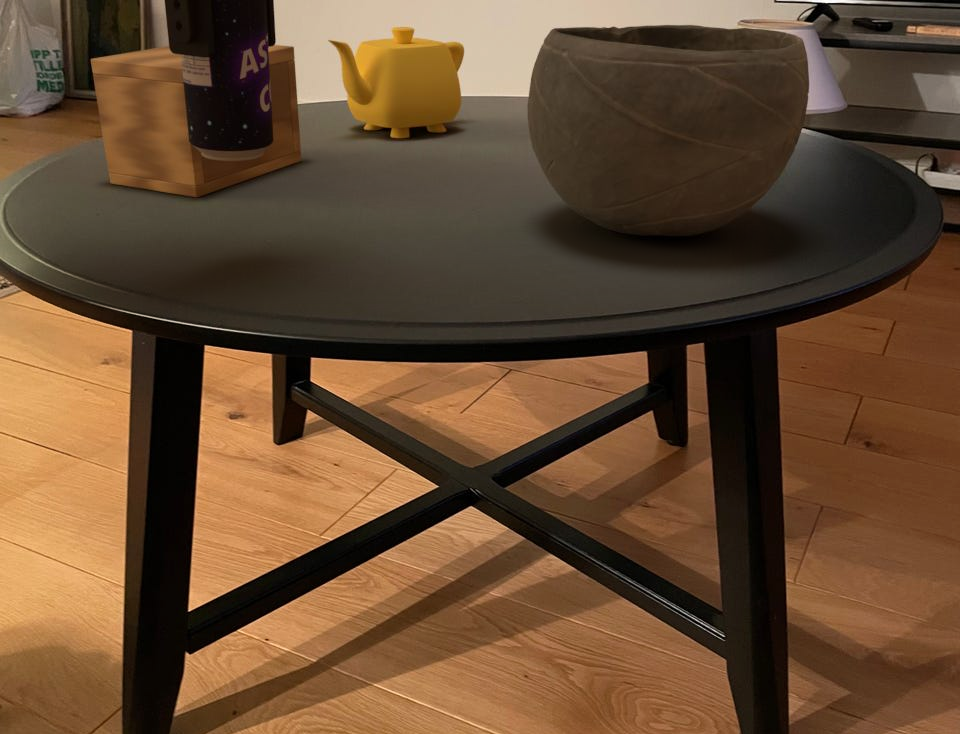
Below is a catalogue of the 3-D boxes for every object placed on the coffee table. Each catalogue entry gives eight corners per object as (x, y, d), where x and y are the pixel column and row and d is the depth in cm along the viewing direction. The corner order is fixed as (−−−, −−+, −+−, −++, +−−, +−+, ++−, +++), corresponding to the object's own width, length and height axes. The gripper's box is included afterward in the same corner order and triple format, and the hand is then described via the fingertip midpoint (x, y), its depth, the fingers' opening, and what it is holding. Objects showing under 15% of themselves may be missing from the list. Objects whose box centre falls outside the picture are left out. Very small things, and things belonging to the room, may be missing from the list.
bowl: (835, 232, 84) (872, 35, 77) (670, 287, 71) (696, 58, 64) (638, 182, 97) (654, 10, 90) (472, 221, 85) (474, 25, 78)
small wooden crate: (110, 183, 94) (90, 58, 88) (221, 149, 106) (209, 38, 101) (197, 197, 90) (181, 68, 85) (301, 161, 103) (294, 46, 97)
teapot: (361, 149, 108) (357, 39, 102) (306, 131, 115) (299, 28, 110) (492, 128, 118) (494, 27, 112) (433, 113, 125) (432, 18, 120)
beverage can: (253, 167, 68) (240, -34, 62) (175, 159, 69) (154, -39, 63) (287, 149, 73) (277, -38, 67) (213, 142, 74) (197, -43, 68)
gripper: (238, -265, 67) (257, 32, 76) (33, -311, 53) (84, 58, 62) (336, -267, 64) (343, 42, 73) (145, -315, 51) (183, 71, 60)
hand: (224, 46), depth 68 cm, fingers closed on beverage can, 5 cm apart
